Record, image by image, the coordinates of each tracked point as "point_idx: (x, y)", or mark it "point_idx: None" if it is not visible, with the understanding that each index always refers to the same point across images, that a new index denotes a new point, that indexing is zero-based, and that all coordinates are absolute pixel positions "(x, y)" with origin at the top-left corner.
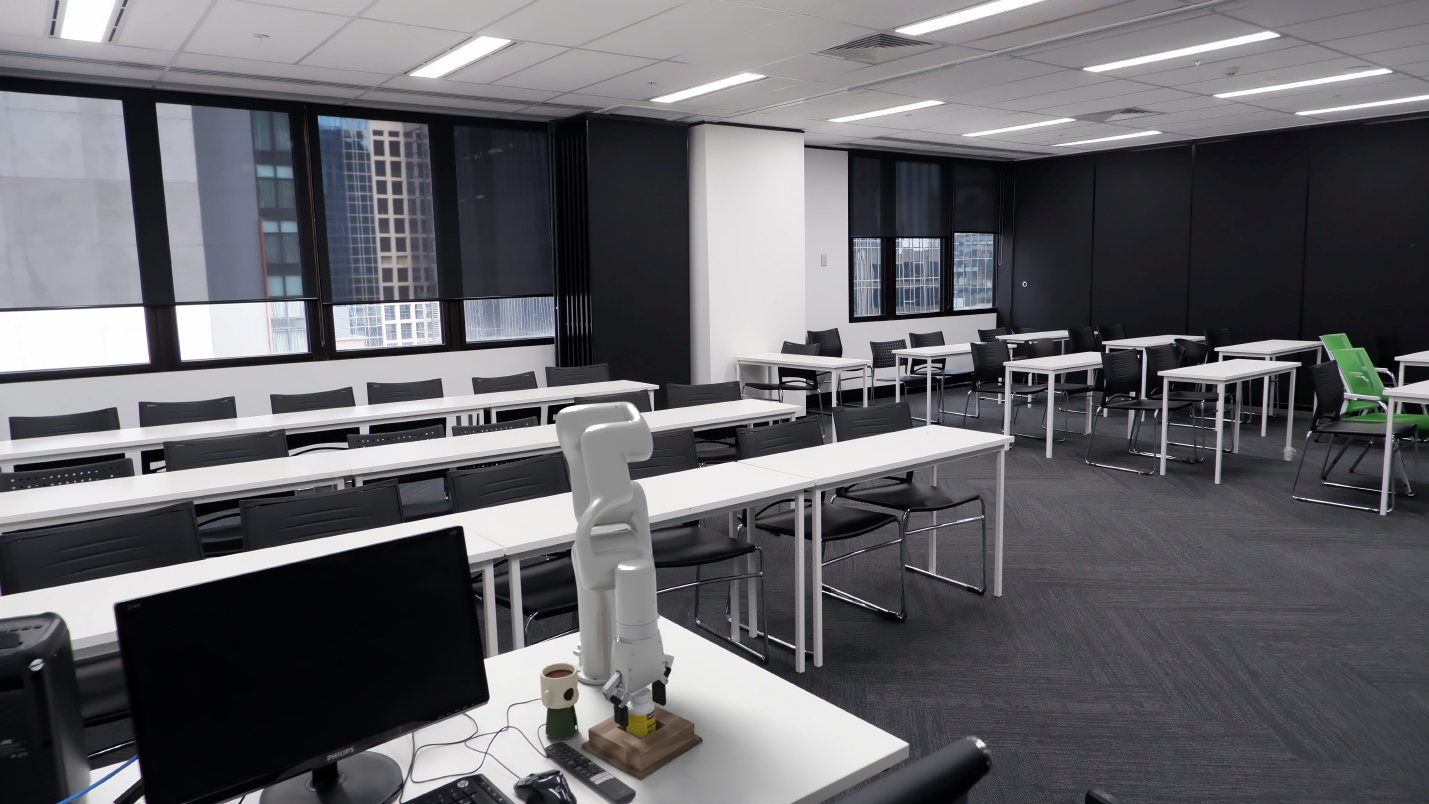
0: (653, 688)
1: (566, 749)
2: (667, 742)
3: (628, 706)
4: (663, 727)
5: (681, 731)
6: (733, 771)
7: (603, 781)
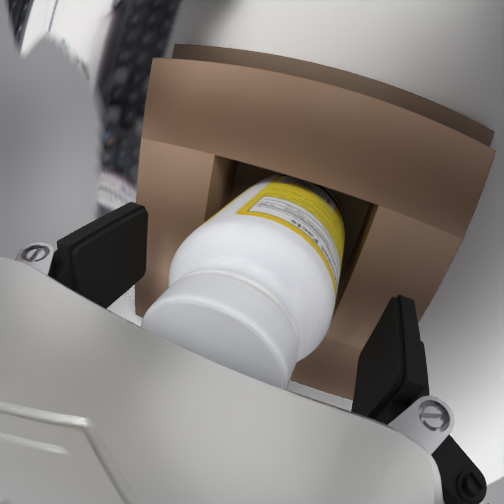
0: (388, 362)
1: (159, 15)
2: None
3: (175, 263)
4: None
5: (304, 383)
6: None
7: (108, 209)
